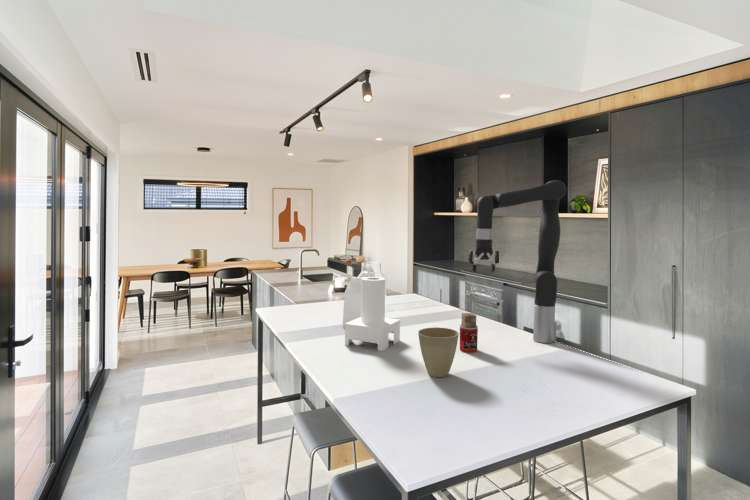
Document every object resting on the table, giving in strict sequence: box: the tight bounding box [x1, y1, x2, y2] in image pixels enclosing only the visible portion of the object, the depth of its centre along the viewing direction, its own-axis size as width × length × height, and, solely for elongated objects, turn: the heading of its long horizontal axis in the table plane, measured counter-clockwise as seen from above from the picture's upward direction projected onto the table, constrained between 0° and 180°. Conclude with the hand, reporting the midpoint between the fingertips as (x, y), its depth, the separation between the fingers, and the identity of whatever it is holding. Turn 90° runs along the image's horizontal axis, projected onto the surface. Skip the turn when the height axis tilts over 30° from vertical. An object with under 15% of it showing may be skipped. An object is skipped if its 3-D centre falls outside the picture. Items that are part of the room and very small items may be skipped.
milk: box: [342, 276, 362, 329], centre depth 237 cm, size 12×12×26 cm
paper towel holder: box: [344, 276, 401, 352], centre depth 205 cm, size 19×19×30 cm
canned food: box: [459, 323, 479, 354], centre depth 196 cm, size 8×8×11 cm
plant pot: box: [417, 326, 460, 378], centre depth 166 cm, size 15×15×16 cm
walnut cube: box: [461, 312, 477, 327], centre depth 195 cm, size 5×5×5 cm
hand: (483, 272), depth 212 cm, fingers open, 8 cm apart
